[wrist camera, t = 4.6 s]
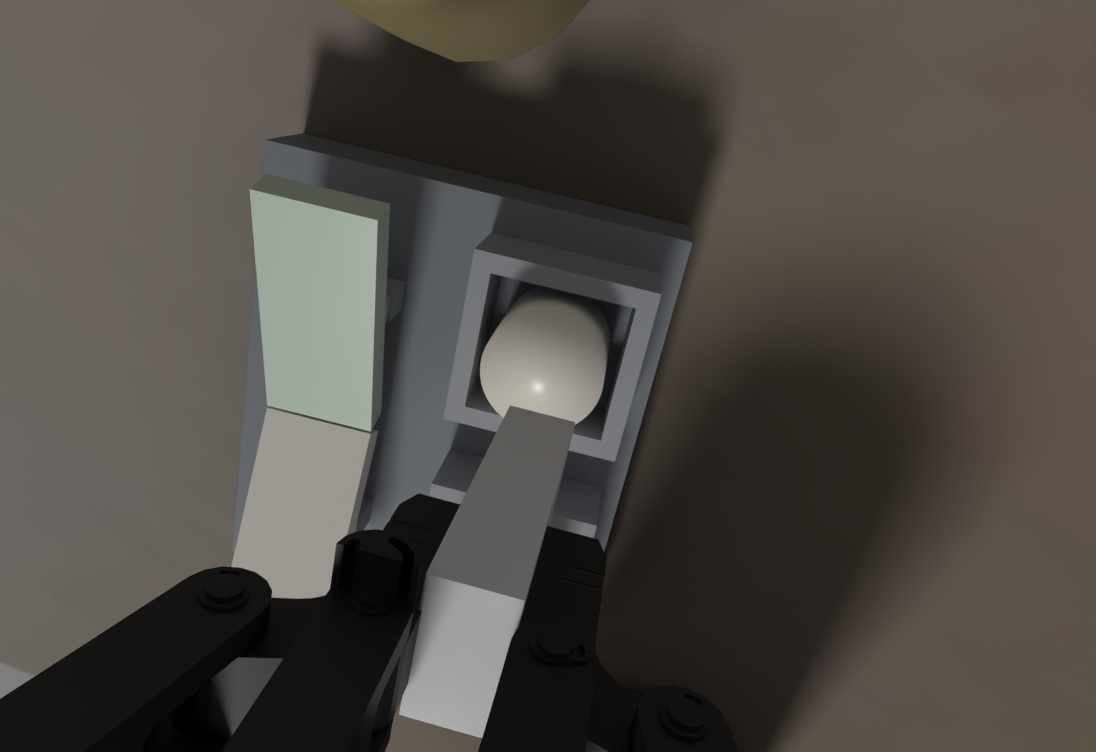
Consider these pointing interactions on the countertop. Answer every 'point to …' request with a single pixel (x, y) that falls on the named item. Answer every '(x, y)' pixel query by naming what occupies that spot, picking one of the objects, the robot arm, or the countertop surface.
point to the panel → (484, 322)
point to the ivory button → (547, 355)
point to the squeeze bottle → (470, 24)
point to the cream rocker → (302, 501)
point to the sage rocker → (321, 299)
